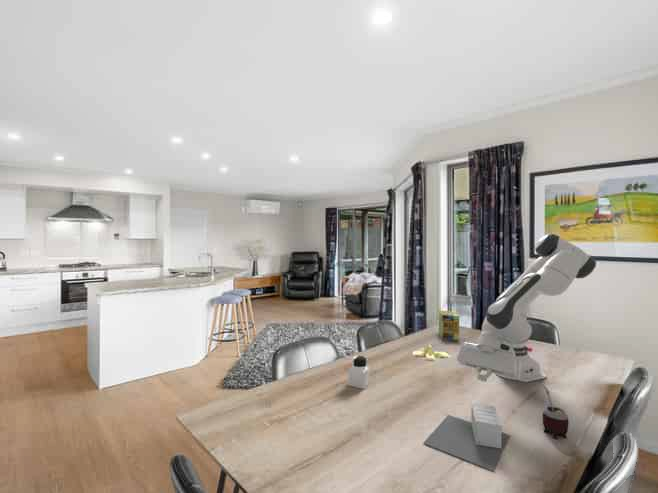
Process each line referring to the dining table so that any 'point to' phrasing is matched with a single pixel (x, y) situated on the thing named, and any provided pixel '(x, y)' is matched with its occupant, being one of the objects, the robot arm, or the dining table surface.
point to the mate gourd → (554, 419)
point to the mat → (464, 443)
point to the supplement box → (486, 426)
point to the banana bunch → (429, 353)
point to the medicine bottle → (359, 372)
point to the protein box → (449, 325)
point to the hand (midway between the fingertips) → (481, 380)
